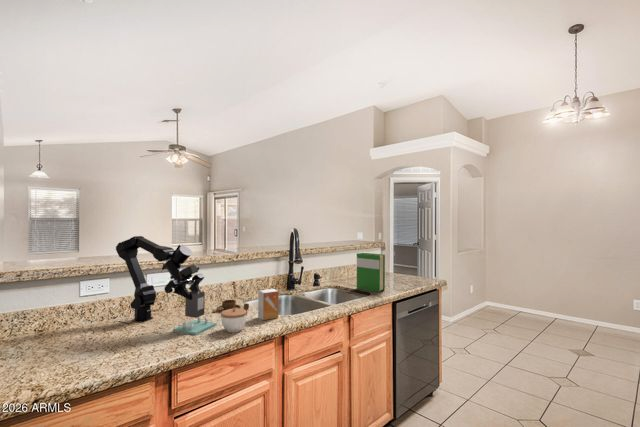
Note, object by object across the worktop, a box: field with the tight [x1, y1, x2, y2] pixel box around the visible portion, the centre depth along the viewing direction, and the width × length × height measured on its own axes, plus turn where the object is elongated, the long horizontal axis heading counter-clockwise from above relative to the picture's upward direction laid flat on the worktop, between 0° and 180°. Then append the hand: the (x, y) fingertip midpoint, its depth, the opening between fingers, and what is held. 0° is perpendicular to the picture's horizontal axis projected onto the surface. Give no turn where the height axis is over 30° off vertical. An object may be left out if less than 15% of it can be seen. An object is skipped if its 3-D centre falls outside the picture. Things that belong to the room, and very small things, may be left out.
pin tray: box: [172, 316, 217, 336], centre depth 141 cm, size 12×13×4 cm
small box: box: [257, 288, 280, 321], centre depth 157 cm, size 8×6×13 cm
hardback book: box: [356, 252, 386, 293], centre depth 220 cm, size 18×7×24 cm, turn 50°
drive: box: [184, 290, 206, 319], centre depth 140 cm, size 6×5×10 cm
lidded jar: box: [220, 307, 248, 333], centre depth 139 cm, size 11×11×9 cm
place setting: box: [211, 299, 250, 316], centre depth 166 cm, size 18×20×6 cm
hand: (195, 297), depth 140 cm, fingers closed on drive, 5 cm apart
